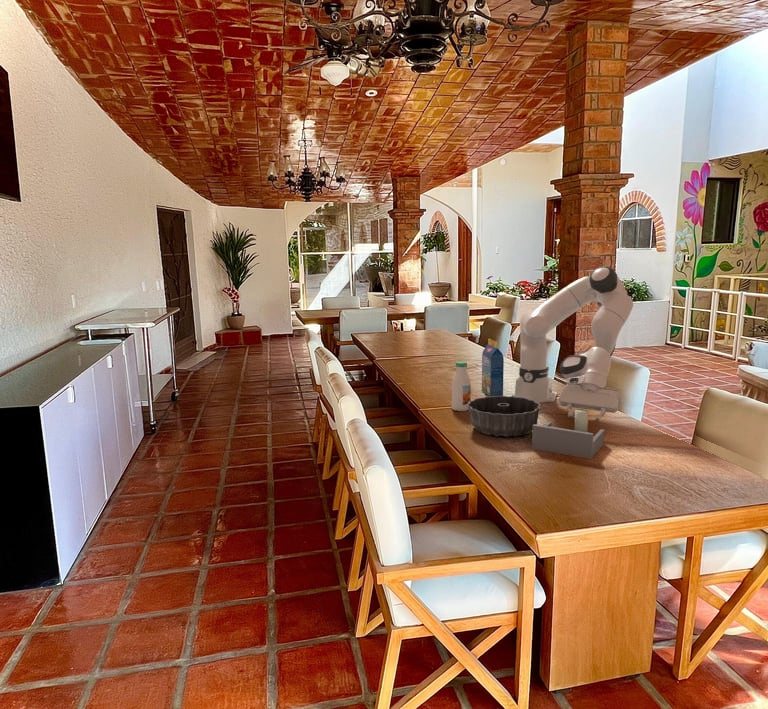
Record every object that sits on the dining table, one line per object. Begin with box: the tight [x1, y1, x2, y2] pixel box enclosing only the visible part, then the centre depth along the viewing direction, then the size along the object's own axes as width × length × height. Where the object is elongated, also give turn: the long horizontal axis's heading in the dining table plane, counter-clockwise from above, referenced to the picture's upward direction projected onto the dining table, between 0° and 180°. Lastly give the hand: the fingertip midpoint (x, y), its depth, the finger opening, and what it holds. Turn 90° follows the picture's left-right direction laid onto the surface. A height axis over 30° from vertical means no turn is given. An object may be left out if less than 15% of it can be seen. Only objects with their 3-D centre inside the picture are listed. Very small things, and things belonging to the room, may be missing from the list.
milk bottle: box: [451, 360, 472, 412], centre depth 233 cm, size 8×8×20 cm
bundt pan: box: [467, 395, 542, 438], centre depth 206 cm, size 26×26×10 cm
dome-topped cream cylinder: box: [574, 408, 589, 432], centre depth 200 cm, size 4×4×8 cm
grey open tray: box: [531, 421, 605, 460], centre depth 187 cm, size 16×19×8 cm
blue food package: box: [481, 338, 505, 397], centre depth 257 cm, size 6×12×25 cm, turn 9°
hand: (583, 418), depth 199 cm, fingers open, 8 cm apart
